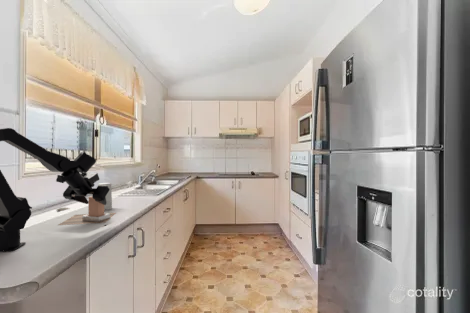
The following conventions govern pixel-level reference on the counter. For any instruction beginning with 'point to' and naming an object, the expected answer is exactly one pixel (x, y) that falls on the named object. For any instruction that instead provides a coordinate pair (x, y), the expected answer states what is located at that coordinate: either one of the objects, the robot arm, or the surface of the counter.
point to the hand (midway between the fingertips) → (96, 203)
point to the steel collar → (95, 218)
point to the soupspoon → (62, 209)
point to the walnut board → (78, 220)
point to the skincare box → (107, 196)
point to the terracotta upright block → (95, 207)
